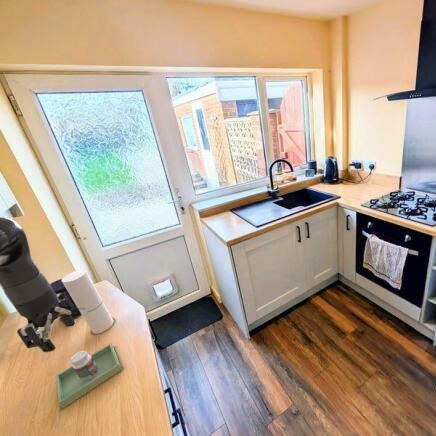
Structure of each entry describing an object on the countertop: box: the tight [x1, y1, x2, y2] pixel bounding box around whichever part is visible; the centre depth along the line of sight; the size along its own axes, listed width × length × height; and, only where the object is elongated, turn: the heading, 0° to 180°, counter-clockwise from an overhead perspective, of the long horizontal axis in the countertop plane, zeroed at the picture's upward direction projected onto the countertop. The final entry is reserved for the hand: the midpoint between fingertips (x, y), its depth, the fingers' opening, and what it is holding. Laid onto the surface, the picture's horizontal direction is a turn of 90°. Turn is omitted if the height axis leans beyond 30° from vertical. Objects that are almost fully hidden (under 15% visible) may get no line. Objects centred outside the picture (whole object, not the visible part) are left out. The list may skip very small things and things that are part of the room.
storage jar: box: [49, 278, 82, 319], centre depth 105 cm, size 10×10×15 cm
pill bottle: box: [70, 350, 99, 381], centre depth 77 cm, size 5×5×8 cm
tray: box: [55, 343, 123, 409], centre depth 79 cm, size 15×12×2 cm
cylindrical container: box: [61, 269, 114, 335], centre depth 93 cm, size 7×7×25 cm
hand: (61, 337), depth 70 cm, fingers open, 8 cm apart
